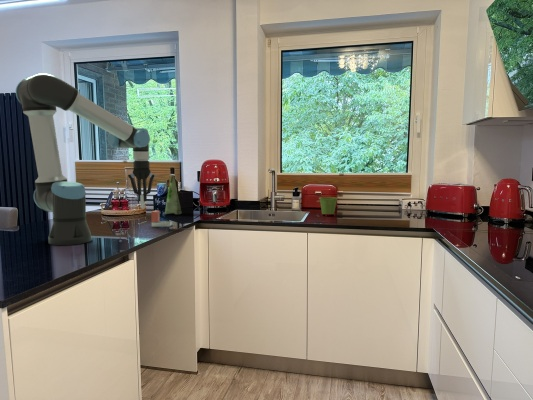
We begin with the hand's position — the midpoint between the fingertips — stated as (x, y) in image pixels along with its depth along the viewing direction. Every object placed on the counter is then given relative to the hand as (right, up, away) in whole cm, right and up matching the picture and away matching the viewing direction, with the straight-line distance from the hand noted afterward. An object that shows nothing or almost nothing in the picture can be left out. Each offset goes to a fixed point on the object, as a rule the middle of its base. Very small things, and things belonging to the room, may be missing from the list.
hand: (142, 207), depth 190 cm
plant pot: (+100, -6, +47) cm, 111 cm away
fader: (+6, -7, +1) cm, 9 cm away
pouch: (+4, -5, +45) cm, 46 cm away
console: (+9, -9, +1) cm, 13 cm away
